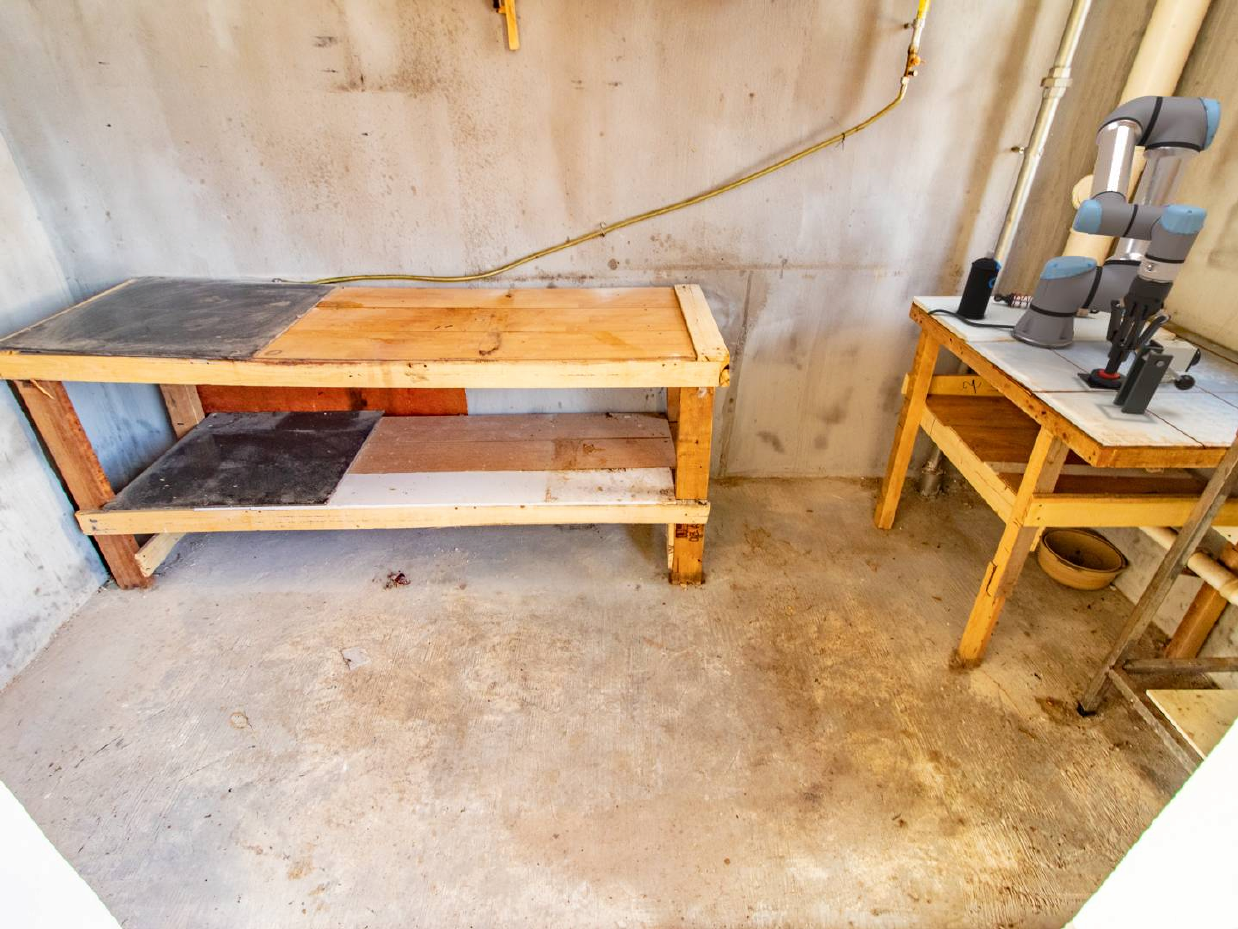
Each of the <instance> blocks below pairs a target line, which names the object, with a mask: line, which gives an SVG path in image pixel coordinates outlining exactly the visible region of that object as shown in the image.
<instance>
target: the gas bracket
mask: <svg viewBox="0 0 1238 929" xmlns="http://www.w3.org/2000/svg"><path fill="white" fill-rule="evenodd" d="M1151 349H1152V350H1153V351H1155V352H1156V353H1157V354H1155V353H1150V354H1149V356H1148V358H1147V360H1146V361H1145V360H1144V359H1143V358H1142V357H1143V356H1144V355H1145V354H1146V353H1148V352H1149V351H1150V350H1151ZM1163 351H1164V349H1163V348H1161V347H1148V346H1141V347H1140V349H1139V351H1138V353H1137V355H1136V354H1135V357H1134V359H1133V361H1132V363H1131V365H1130V367H1129V369H1128V371H1127V373H1126V375H1125V379H1124V381H1123V383H1122V385H1121V387H1120V389H1119V391H1118V390H1117V394H1116V396H1115V397H1114V400H1113V402H1112V404H1113V405H1114V406H1121V407H1122V408H1121V409H1120V412H1121V413H1122V414H1130V415H1141V416H1143V415H1145V412H1146V410H1147V408H1148V406H1149V405H1150V403H1151V400H1152V399H1153V397H1154V395H1155V393H1156V391H1157V390H1158V387H1159V385H1160V384H1161V383H1162V382H1161V380H1162V378H1163V376H1164V374H1165V372H1166V370H1167V369H1168V367H1169V365H1170V363H1171V361H1172V359H1173V357H1174V356H1172V355H1168V354H1162V353H1163Z"/></svg>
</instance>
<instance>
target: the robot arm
mask: <svg viewBox="0 0 1238 929" xmlns="http://www.w3.org/2000/svg"><path fill="white" fill-rule="evenodd" d="M1221 117H1222V106H1221V103H1220V101H1219V100H1217V99H1214V98H1207V97H1206V98H1204V97H1201V96H1197V97H1186V96H1167V95H1165V96H1164V95H1162V96H1161V95H1158V96H1157V95H1144V96H1139V97H1136V98H1133V99H1131V100H1129V101H1127V102H1125V103H1122V104H1121V105H1119V106H1118V107H1117V108H1116V109H1114V110H1113V111H1111V113H1109V114H1108V116H1106V118H1104V120H1103V121H1102V123H1101V124H1100V126H1099V127H1098V130H1097V133H1096V136H1095V142H1094V143H1095V147H1096V149H1097V155H1096V161H1095V166H1094V171H1093V177H1092V181H1091V188H1090V192H1089V197H1088V199H1084V200H1083V201H1082V202H1081V203H1080V204H1079V206H1078V208H1077V211H1076V213H1075V216H1074V220H1073V224H1072V230H1073V231H1074V232H1077V233H1082V234H1087V235H1090V236H1091V235H1094V236H1104V237H1114V238H1119V240H1118V243H1117V246H1116V249H1115V252H1114V254H1113V255H1112V256H1110V257H1108V258H1106V259H1105V260H1104V263H1103V265H1098V261H1097V259H1095V258H1092V257H1086V256H1080V255H1063V256H1057V257H1053V258H1051V259H1049V260H1048V261H1047V262H1046V263H1045V265H1044V267H1043V270H1042V271H1041V273H1040V274H1039V280H1038V283H1037V285H1036V287H1035V290H1034V293H1033V294H1032V295H1033V297H1032V298H1031V300H1030V301H1031V303H1029V305H1028V307H1027V310H1026V311H1025V312H1024V313H1023V315H1022V316H1021V317H1020V318H1019V319H1018V321H1017V322H1016V324H1015V325H1009V324H993V323H979V322H974V321H970V320H969V319H967V318H964V317H963V316H961V315H959V314H956V312H953V311H950V310H946V309H942V308H938V309H933V310H930V311H929V312H927V315H933V314H935V313H943V314H947V315H950V316H953V317H956V318H958V319H960V320H961V321H962V322H964V323H965V324H967V325H970V326H973V327H981V328H995V329H996V328H997V329H1011V330H1012V331H1011V336H1013V337H1014V338H1015V339H1016V340H1018V341H1020V342H1022V343H1024V344H1027V345H1030V346H1035V347H1039V348H1043V349H1044V348H1045V349H1054V350H1055V349H1066V348H1068V347H1070V346H1071V344H1072V342H1073V339H1074V335H1075V331H1074V328H1075V326H1074V324H1075V317H1076V316H1075V314H1076V312H1077V310H1078V308H1081V309H1087V310H1093V311H1100V312H1101V313H1107V314H1110V316H1109V322H1108V326H1107V332H1106V336H1105V340H1106V341H1107V342H1109V343H1111V347H1110V349H1109V351H1108V354H1107V358H1108V359H1109V360H1108V361H1107V364H1106V366H1105V368H1104V369H1105V370H1104V372H1106V373H1108V374H1112V373H1117V372H1118V371H1119V369H1120V367H1121V365H1122V363H1125V362H1127V360H1128V359H1129V356H1130V354H1131V352H1133V351H1134V352H1135V350H1139V349H1140V347H1141V346H1145V345H1147V344H1148V343H1149V342H1150V340H1151V339H1152V338H1153V336H1154V335H1155V334H1156V332H1158V330H1159V329H1160V328H1161V326H1163V325H1164V324H1165V323H1167V322H1168V321H1170V320H1171V319H1172V315H1171V314H1167V313H1166V311H1165V310H1164V308H1165V301H1166V299H1167V298H1168V296H1169V294H1170V292H1171V290H1172V288H1173V286H1174V281H1175V280H1177V279H1178V277H1179V274H1180V272H1181V270H1182V268H1183V265H1184V263H1185V261H1186V259H1187V258H1188V256H1189V254H1190V252H1191V250H1192V248H1193V246H1194V244H1195V242H1196V240H1197V238H1198V236H1199V234H1200V231H1201V230H1203V228H1204V223H1205V221H1206V219H1207V216H1208V211H1207V209H1205V208H1204V207H1199V206H1195V205H1189V204H1174V203H1175V201H1176V199H1177V198H1176V197H1177V194H1178V192H1179V190H1180V186H1181V185H1182V181H1183V180H1184V176H1185V173H1186V171H1187V168H1188V166H1189V163H1191V162H1193V161H1194V160H1195V159H1197V158H1198V157H1199V156H1200V153H1201V152H1205V151H1207V150H1208V149H1209V148H1210V146H1211V145H1212V144H1213V142H1214V139H1215V136H1216V135H1217V133H1218V130H1219V126H1220V122H1221ZM1136 147H1142V148H1144V149H1143V152H1142V158H1144V159H1145V161H1146V165H1145V168H1144V170H1143V173H1142V176H1141V179H1140V182H1139V184H1138V187H1137V190H1136V193H1135V195H1134V199H1133V200H1132V203H1129V202H1127V200H1128V195H1129V194H1128V193H1129V188H1130V182H1131V174H1132V167H1133V162H1134V156H1135V148H1136ZM1100 312H1099V313H1100ZM1122 316H1123V320H1122ZM1152 317H1153V320H1152V322H1150V323H1149V324H1148V326H1147V327H1146V328H1145V326H1146V324H1147V323H1148V322H1149V320H1150V318H1152ZM1131 327H1132V328H1131ZM1144 328H1145V329H1144ZM1130 329H1131V330H1130ZM1143 330H1144V331H1143ZM1129 331H1130V332H1129ZM1128 333H1129V334H1128ZM1127 335H1128V336H1127Z"/></svg>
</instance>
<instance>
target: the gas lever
mask: <svg viewBox="0 0 1238 929" xmlns="http://www.w3.org/2000/svg"><path fill="white" fill-rule="evenodd" d="M1150 353H1155V354H1157V353H1156V352H1155V351H1153V350H1152V349H1151V350H1150V351H1149V352H1148V353H1146V354H1145V355H1144V356H1143V357H1142V358H1143V359H1144V360H1145V361H1146V360H1147V358H1148V356H1149V354H1150ZM1166 372H1167V373H1168V374H1170V375H1171V376H1172V378H1174V381H1173V385H1174V387H1175V388H1176V390H1178V391H1183V392H1185V391H1189V390H1191V389H1192V388H1194V386H1195V385H1196V379H1195V378H1194V377H1193V376H1192V375H1191V374H1181V375H1180V374H1179V373H1177V371H1173V370H1172V369H1171V368H1169V367H1168V369H1167V370H1166Z"/></svg>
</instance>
